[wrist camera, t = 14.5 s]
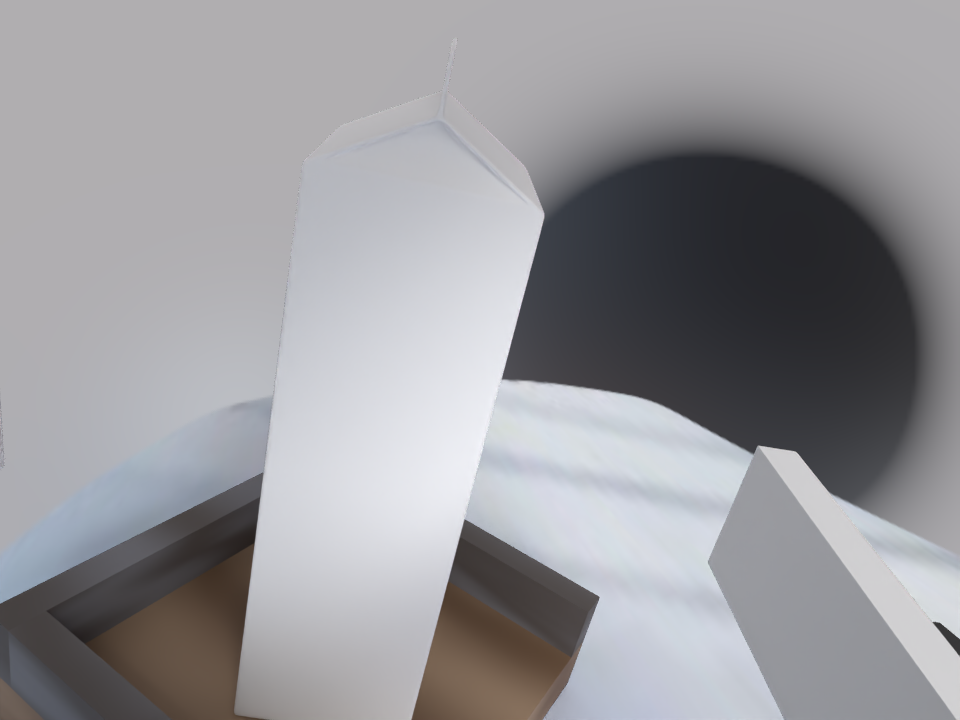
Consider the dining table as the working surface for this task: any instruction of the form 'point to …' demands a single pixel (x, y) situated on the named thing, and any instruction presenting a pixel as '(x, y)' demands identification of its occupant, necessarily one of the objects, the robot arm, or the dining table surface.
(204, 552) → the dock
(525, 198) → the milk
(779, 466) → the robot arm
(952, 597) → the dining table surface
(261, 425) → the dining table surface
